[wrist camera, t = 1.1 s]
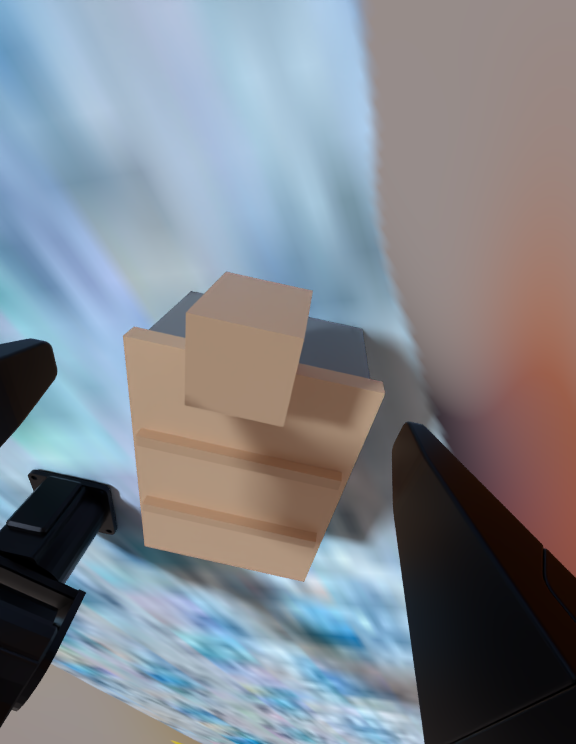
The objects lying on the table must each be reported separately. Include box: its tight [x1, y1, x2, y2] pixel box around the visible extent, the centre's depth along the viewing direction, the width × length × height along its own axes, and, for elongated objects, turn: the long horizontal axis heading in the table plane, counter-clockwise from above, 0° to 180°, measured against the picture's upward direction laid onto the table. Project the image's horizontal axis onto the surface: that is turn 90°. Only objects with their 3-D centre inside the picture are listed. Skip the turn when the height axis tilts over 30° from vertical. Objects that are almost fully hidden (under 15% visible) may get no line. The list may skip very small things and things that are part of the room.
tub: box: [149, 291, 370, 379], centre depth 19 cm, size 14×9×5 cm, turn 169°
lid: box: [123, 272, 385, 582], centre depth 14 cm, size 17×10×4 cm, turn 169°
